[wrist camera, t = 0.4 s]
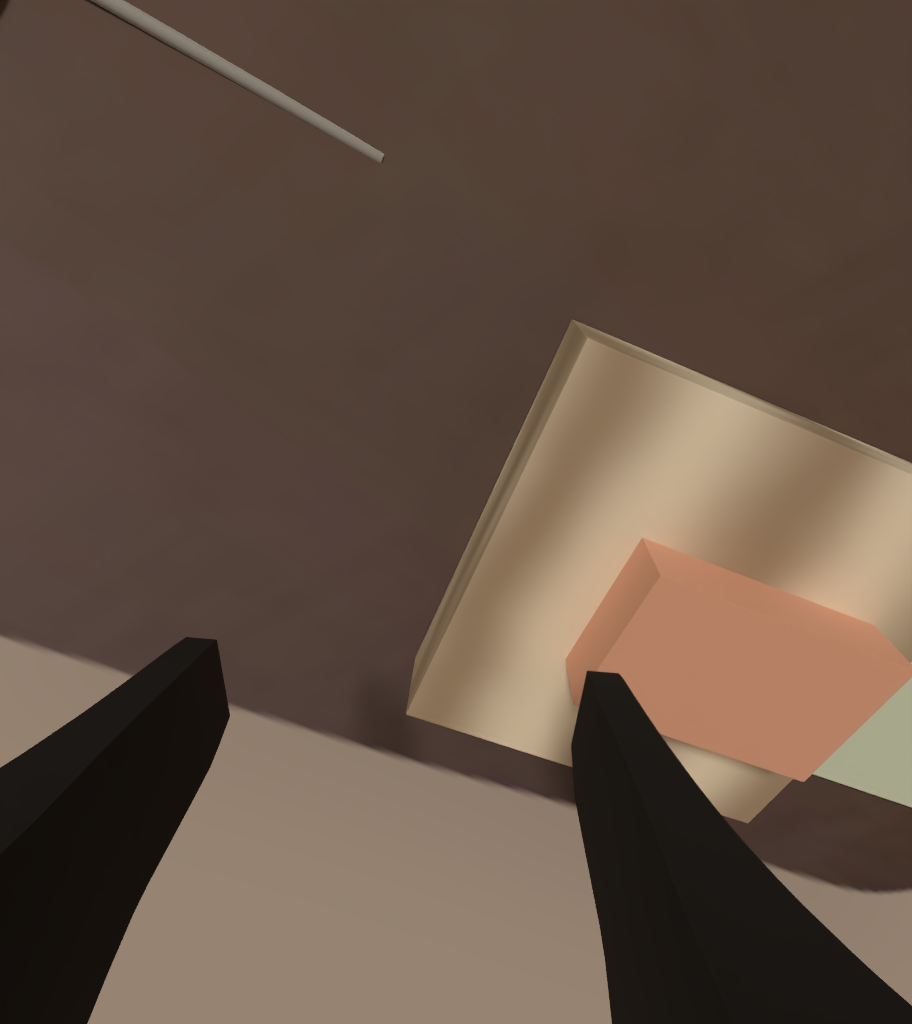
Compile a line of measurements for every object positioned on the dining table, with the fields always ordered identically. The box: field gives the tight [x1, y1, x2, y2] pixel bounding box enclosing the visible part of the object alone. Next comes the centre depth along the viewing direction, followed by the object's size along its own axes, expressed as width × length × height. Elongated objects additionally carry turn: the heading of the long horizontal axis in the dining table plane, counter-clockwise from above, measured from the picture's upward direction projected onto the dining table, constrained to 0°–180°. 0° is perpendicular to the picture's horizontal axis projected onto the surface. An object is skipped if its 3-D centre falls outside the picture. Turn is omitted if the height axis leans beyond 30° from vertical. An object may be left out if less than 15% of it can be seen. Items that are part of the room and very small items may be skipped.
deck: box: [406, 320, 912, 823], centre depth 19 cm, size 14×14×3 cm
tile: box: [566, 538, 912, 782], centre depth 17 cm, size 8×5×2 cm, turn 69°
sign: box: [90, 0, 384, 163], centre depth 14 cm, size 5×1×15 cm
